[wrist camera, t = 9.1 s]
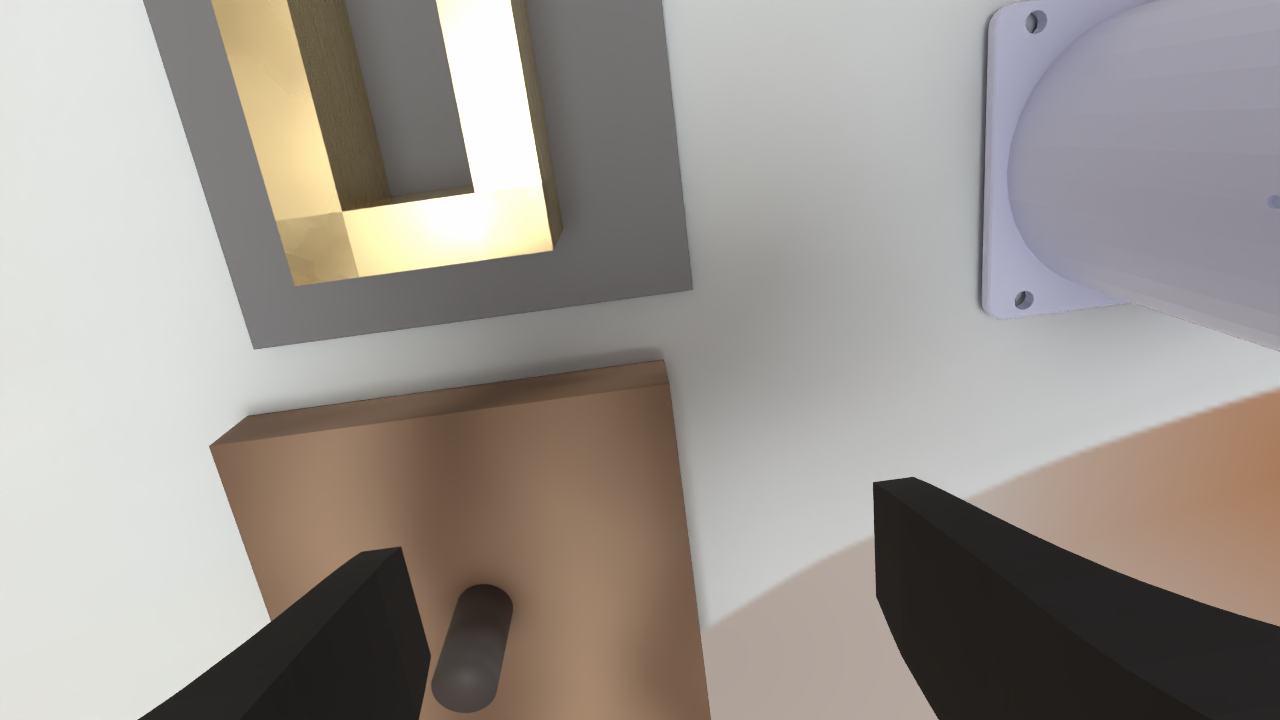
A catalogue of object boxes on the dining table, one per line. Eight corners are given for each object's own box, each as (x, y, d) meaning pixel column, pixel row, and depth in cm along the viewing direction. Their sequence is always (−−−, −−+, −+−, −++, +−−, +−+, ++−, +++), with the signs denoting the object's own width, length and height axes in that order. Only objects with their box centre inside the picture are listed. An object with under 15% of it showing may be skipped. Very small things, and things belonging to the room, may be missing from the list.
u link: (563, 228, 18) (553, 250, 15) (351, 257, 18) (294, 286, 15) (504, -126, 16) (477, -193, 13) (259, -91, 16) (167, -150, 13)
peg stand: (663, 359, 20) (680, 431, 15) (705, 693, 24) (729, 833, 19) (247, 416, 20) (135, 504, 15) (354, 740, 24) (290, 892, 19)
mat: (634, -238, 16) (634, -247, 15) (691, 286, 19) (692, 289, 19) (101, -165, 16) (88, -172, 15) (260, 345, 19) (254, 349, 19)
